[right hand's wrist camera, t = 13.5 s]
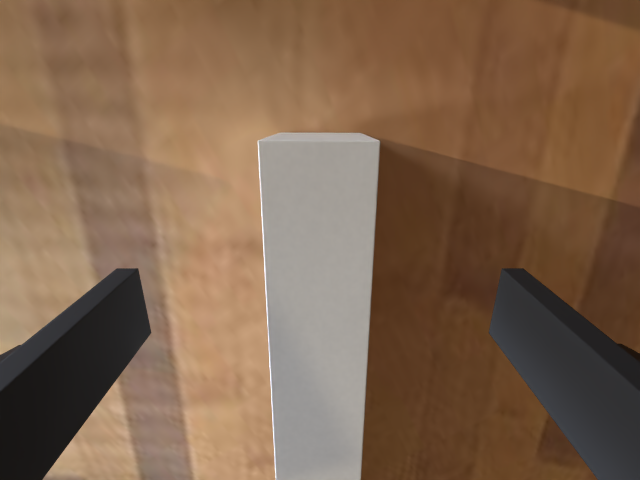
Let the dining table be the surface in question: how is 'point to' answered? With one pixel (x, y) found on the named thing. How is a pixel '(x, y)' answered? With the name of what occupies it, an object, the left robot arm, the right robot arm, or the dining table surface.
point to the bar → (318, 296)
